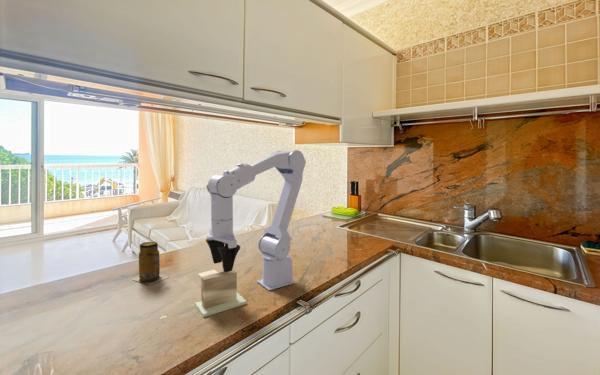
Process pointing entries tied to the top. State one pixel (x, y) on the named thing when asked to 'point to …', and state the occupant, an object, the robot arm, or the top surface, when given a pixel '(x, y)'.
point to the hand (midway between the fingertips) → (222, 266)
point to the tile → (207, 273)
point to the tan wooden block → (218, 288)
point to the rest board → (220, 306)
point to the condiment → (149, 264)
